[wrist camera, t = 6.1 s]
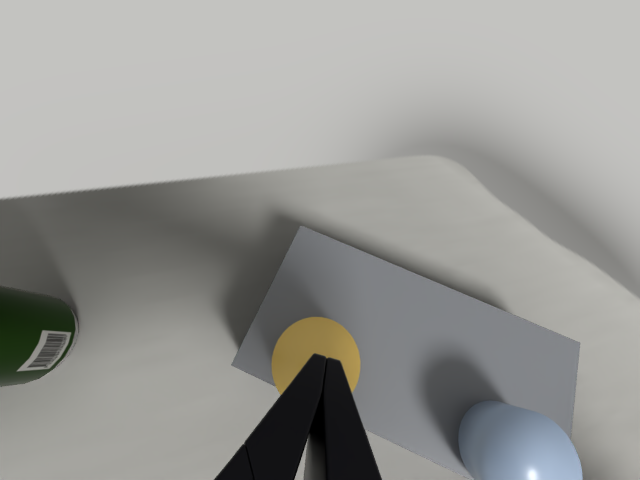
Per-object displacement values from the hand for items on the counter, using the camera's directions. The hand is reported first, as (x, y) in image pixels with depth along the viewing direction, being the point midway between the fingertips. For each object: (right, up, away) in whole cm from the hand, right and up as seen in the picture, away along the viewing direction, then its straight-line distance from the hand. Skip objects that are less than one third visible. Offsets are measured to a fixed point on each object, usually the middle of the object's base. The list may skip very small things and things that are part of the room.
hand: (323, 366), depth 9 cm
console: (+5, -4, +11) cm, 13 cm away
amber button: (-1, -4, +10) cm, 11 cm away
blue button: (+9, -8, +9) cm, 15 cm away
